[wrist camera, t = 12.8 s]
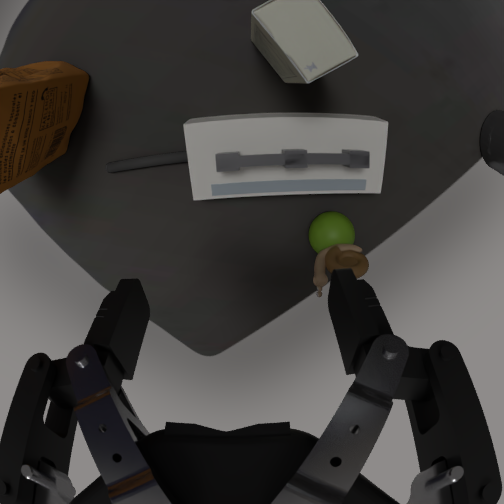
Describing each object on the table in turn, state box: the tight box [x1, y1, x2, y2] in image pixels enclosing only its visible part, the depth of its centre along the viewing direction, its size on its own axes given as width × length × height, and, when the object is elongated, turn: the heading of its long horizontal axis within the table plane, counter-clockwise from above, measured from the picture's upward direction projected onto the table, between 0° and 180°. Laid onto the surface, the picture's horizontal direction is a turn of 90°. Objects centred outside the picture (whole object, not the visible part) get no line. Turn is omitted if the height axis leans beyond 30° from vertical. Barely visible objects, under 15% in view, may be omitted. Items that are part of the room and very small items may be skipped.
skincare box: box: [251, 0, 358, 83], centre depth 18 cm, size 6×4×12 cm
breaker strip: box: [105, 113, 388, 200], centre depth 28 cm, size 31×8×4 cm, turn 93°
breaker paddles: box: [215, 149, 370, 172], centre depth 25 cm, size 14×2×2 cm, turn 93°
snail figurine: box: [309, 212, 369, 297], centre depth 30 cm, size 5×6×12 cm
